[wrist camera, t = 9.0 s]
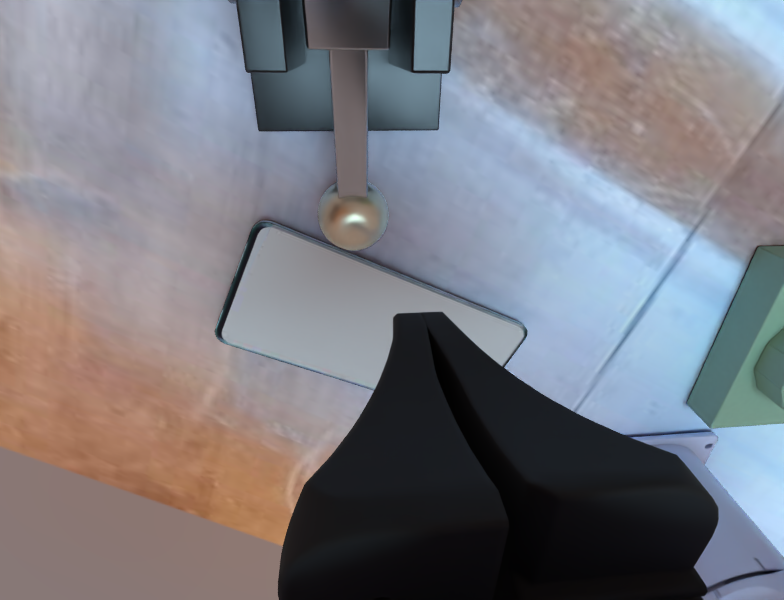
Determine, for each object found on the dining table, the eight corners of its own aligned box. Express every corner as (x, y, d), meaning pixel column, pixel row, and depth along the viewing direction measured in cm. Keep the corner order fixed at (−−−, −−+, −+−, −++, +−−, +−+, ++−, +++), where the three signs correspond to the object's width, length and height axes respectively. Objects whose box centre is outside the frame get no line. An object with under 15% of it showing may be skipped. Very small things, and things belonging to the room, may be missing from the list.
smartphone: (255, 217, 19) (532, 329, 24) (257, 213, 20) (529, 324, 24) (211, 340, 22) (465, 419, 26) (213, 334, 22) (463, 413, 27)
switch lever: (384, 217, 20) (390, 263, 18) (320, 219, 19) (320, 266, 18) (398, -111, 11) (410, -84, 9) (285, -116, 11) (276, -88, 9)
